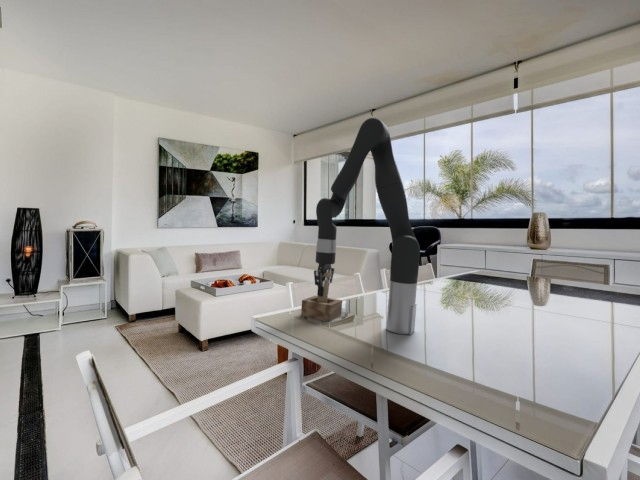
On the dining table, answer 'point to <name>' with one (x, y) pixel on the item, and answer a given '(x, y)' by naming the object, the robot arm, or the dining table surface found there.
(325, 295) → the handle
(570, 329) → the dining table surface
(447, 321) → the dining table surface
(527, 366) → the dining table surface
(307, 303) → the brown wooden open box
